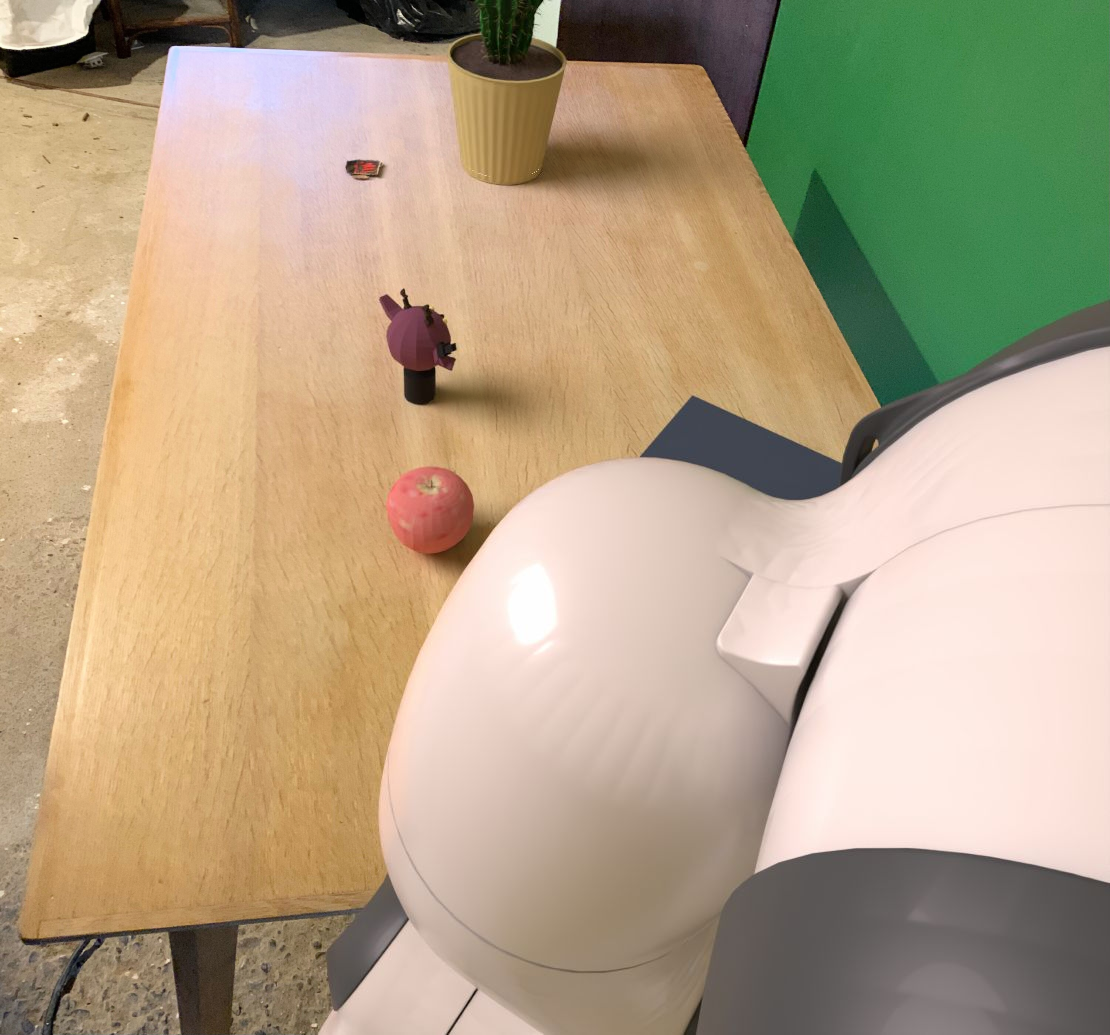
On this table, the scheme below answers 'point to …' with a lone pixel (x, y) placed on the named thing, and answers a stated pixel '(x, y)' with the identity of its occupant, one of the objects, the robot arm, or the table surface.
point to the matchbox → (363, 167)
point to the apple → (430, 509)
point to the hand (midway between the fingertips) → (612, 729)
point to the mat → (745, 452)
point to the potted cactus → (504, 93)
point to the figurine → (418, 346)
